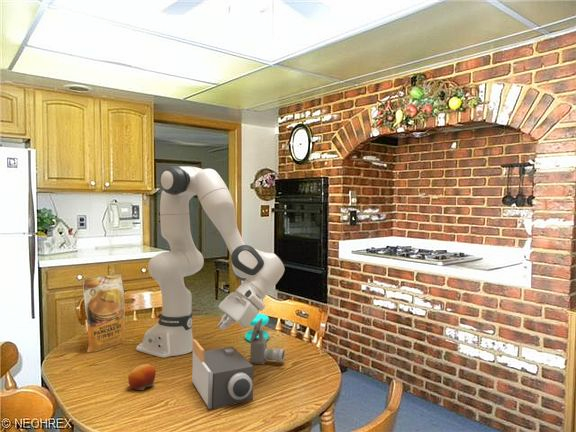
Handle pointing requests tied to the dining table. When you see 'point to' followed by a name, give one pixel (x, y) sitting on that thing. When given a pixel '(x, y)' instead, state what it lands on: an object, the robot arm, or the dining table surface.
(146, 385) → the fruit
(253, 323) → the turquoise spool
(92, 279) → the pancake mix bag
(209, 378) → the side door
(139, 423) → the dining table surface
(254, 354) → the camera
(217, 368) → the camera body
